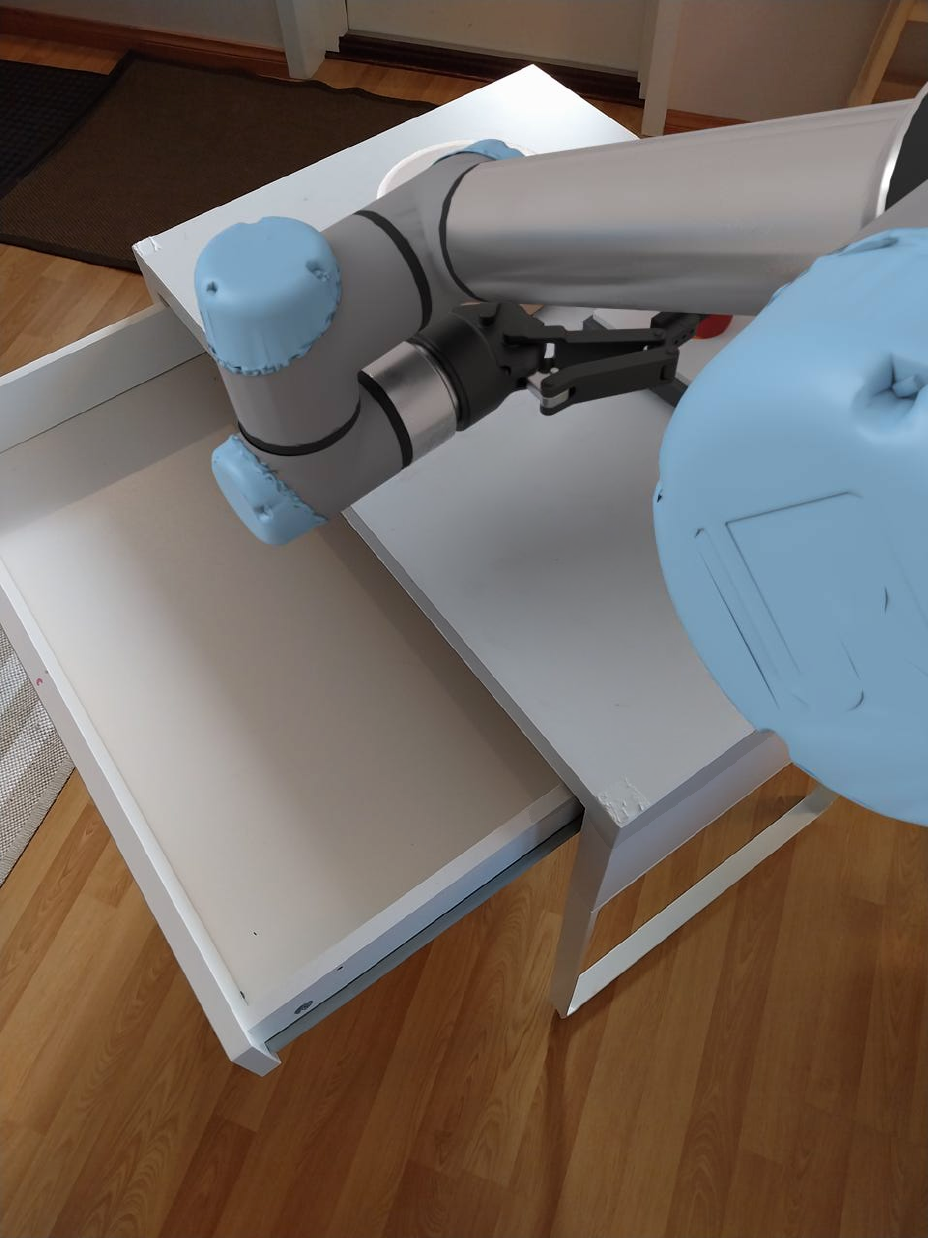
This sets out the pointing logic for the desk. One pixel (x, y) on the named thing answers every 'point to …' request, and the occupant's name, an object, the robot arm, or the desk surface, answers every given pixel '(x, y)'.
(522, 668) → the desk surface
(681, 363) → the scale
